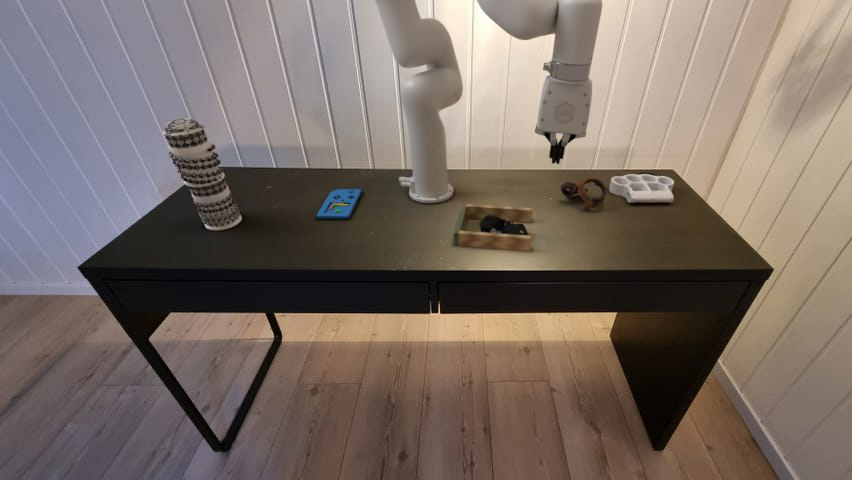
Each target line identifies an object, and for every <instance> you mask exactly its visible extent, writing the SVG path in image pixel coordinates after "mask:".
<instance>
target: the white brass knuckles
mask: <svg viewBox="0 0 852 480" xmlns="http://www.w3.org/2000/svg"><path fill="white" fill-rule="evenodd" d="M674 185H675V180H674V179H673V178H671V177H669V176H665V175H661V176H660V175H654V174H653V175H652V174H650V173H649V174H648V173H641V174H635V173H629V174H625V175H622V176H621V175H620V176H618V175H617V176H616V175H615V176H613V177H611V179H610V182H609V187H608V191H609V192H610V193H611V194H612V195H615V196H619V197H623V198H625V200H626V201H627V203H629V204H634V203H635V204H636V203H638V204H639V203H645V204H646V203H647V204H651V203H667V204H669V203H673V202H674V199H675V198H674V194H673V192H672V191H673V189H674Z"/></svg>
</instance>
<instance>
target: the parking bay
mask: <svg viewBox="0 0 852 480" xmlns="http://www.w3.org/2000/svg"><path fill="white" fill-rule="evenodd" d="M487 215H493V216H496V217H499V218H500V219H503V220H505V221H508V222H509V221H511V222H512V221H513V222H519V223H522V222H523V223H532V219H533V207H522V206H521V207H520V206H503V205H489V204H473V203H472V204H471V203H462V206H461V209H460V212H459V216H458V219H457V221H456V224H455V225H456V226H455V228H454V231H453V238H454V239H453V243H454V246H457V247H471V248H472V247H473V248H486V249H496V250H497V249H498V250H511V251H524V252H531V249H532V248H531V247H532V235H529V234H528V235H514V234H500V233H488V232H487V233H486V232H485V231H484V232H481V231H471V230H470V231H468V230H465V227H466V224H467V219H476V220H482V219H483V218H484V217H485V216H487Z"/></svg>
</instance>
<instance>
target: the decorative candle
mask: <svg viewBox="0 0 852 480" xmlns="http://www.w3.org/2000/svg"><path fill="white" fill-rule="evenodd" d="M161 134H162V135H164V137H165V139H166V142H167V144H168V148H169V150H170V151H169V152H168V155H169V158H170V159H172V164H173V165H174V166H175V167H176V170H177V173H178V174H180V178H181V179H182V181H183V182H184V185H185V186H187V187H188V188H189V190H190V192H191V197H192V199H193V202H192V203H193V204H194V206H195V210H197V212H198V215H199V217H200V218H201V221H202V222H201V223H203V224H204V227H205V229H207V230H209V231H224V230H227V229H231V228H233V227H235V226H237V225H239V223H241V221H242V220H243V217H242V215H241V213H240V210H239V206H238V204H237V203H236V199H235V198H234V196H233V195H234V193H233V192H232V191H231V190H230V187H229V186H228V184H227V182H226V180H225V179H224V178H225V177H226V175H225V173H224V168H223V167H221V166H219V165H220V164H221V159H219V154H218V153H217V152H214V150H215V149H216V144H213V143H211V141H210V139H209V137H208V136H207V133H206V131H205V124H203V123H199V122H198V121H197V120H196V119H193V118H189V117H188V118H186V117H185V118H177V119H173V120H170V121H167V123H166V124H165V125H164V128H163V130H162V131H161Z"/></svg>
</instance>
